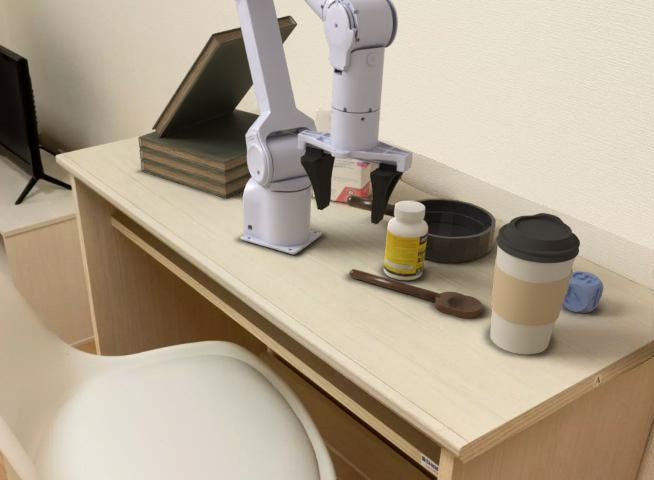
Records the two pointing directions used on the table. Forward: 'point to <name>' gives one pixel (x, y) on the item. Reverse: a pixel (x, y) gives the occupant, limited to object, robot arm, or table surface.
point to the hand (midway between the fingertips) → (349, 214)
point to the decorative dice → (583, 292)
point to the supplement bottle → (406, 241)
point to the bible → (208, 120)
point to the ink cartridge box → (345, 168)
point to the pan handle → (368, 204)
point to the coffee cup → (530, 281)
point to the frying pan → (457, 230)
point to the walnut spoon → (428, 295)
